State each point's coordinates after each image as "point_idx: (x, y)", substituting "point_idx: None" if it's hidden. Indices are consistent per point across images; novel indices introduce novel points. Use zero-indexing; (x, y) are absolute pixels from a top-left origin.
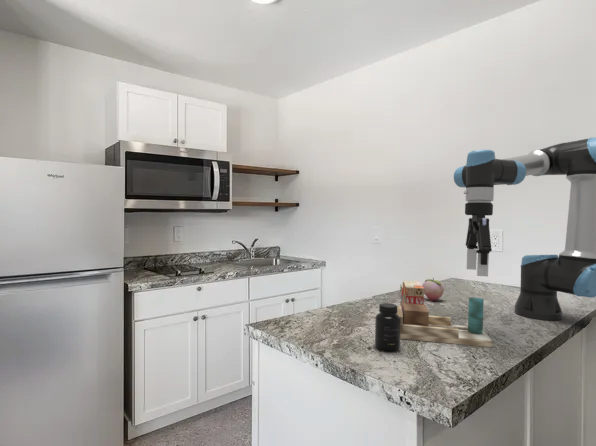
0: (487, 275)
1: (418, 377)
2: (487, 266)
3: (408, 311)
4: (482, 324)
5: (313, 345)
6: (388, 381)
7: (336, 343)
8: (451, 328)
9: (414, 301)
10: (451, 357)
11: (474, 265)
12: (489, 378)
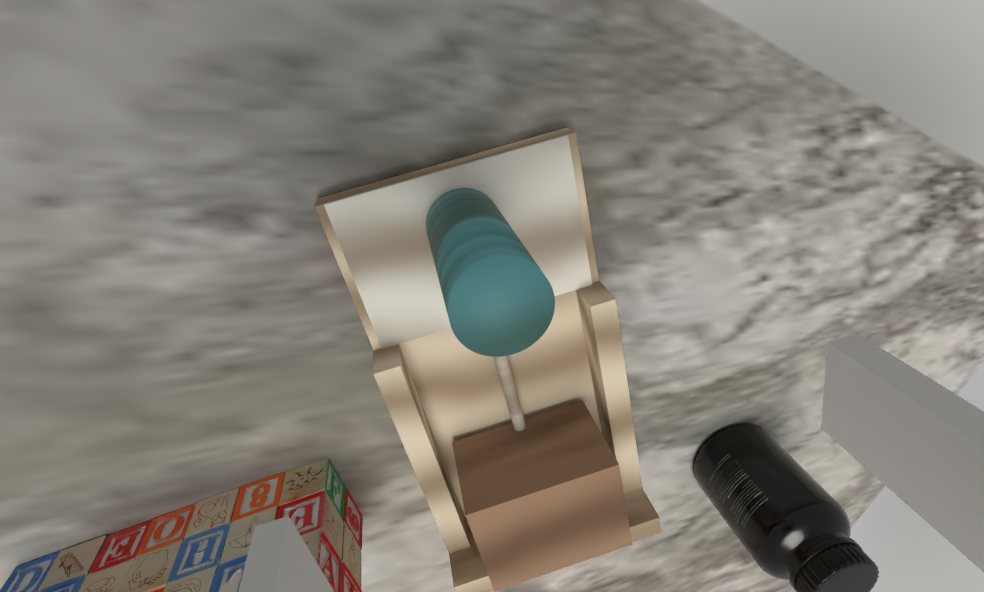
0: (866, 343)
1: (931, 324)
2: (972, 415)
3: (628, 528)
4: (484, 203)
5: (770, 587)
6: (961, 376)
7: (737, 561)
8: (599, 331)
9: (341, 578)
10: (754, 271)
11: (290, 585)
12: (912, 134)
